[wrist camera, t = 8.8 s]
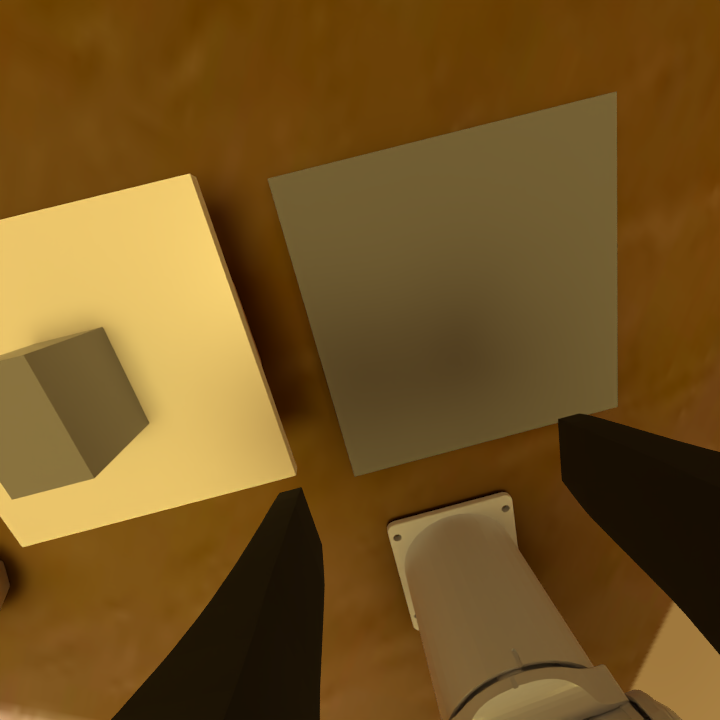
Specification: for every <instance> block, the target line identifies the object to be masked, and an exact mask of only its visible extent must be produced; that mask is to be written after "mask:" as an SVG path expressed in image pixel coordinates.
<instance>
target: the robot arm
mask: <svg viewBox="0 0 720 720" xmlns="http://www.w3.org/2000/svg"><path fill="white" fill-rule="evenodd" d="M558 427H559V442H560V458H561V473H562V481H563V482H564V484H565V485H566V486H567V488H568V489H569V490H570V492H571V493H572V494H573V496H574V497H575V498H576V500H577V501H578V502H579V503H580V505H581V506H582V507H583V508H584V510H585V511H586V512H587V513H588V514H589V515H590V516H591V518H592V519H593V520H594V521H595V522H596V523H597V524H598V525H599V526H600V527H601V528H602V529H603V530H604V531H605V532H606V533H607V534H608V535H609V536H610V537H611V538H612V539H613V540H614V541H615V542H616V543H617V544H618V545H619V546H620V547H621V548H622V549H623V550H624V551H625V552H626V553H627V554H628V555H629V556H630V557H631V558H632V559H633V560H634V561H635V562H636V563H637V564H638V565H639V566H640V567H641V568H642V569H643V570H644V571H645V572H646V573H647V574H648V575H649V577H650V578H651V579H652V580H653V581H654V582H655V583H656V584H657V585H658V586H659V587H660V588H661V589H662V590H663V591H664V592H665V593H666V594H667V595H668V596H669V597H670V598H671V599H672V600H673V601H674V602H675V603H676V604H677V606H678V607H679V608H680V609H681V610H682V611H683V612H684V613H685V614H686V615H687V617H688V618H689V619H690V620H691V621H692V622H693V624H694V625H695V626H696V627H697V628H698V629H699V631H700V632H701V633H702V634H703V635H704V637H705V638H706V639H707V640H708V641H709V642H710V644H711V645H712V646H713V647H714V648H715V649H716V651H717V652H718V653H719V654H720V452H717V451H713V450H709V449H706V448H702V447H698V446H695V445H691V444H687V443H684V442H680V441H677V440H673V439H670V438H666V437H663V436H659V435H656V434H652V433H649V432H646V431H642V430H639V429H635V428H632V427H629V426H625V425H622V424H619V423H615V422H612V421H608V420H605V419H601V418H597V417H594V416H590V415H585V414H581V413H579V414H575V415H571V416H567V417H564V418H560V419H558ZM505 505H506V506H505ZM503 506H505V507H503ZM502 507H503V508H502ZM387 531H388V535H389V539H390V543H391V546H392V550H393V554H394V557H395V561H396V565H397V568H398V572H399V576H400V579H401V583H402V587H403V590H404V594H405V598H406V601H407V605H408V609H409V612H410V616H411V620H412V623H413V627H414V629H416V630H419V631H420V635H421V639H422V643H423V647H424V651H425V655H426V659H427V663H428V667H429V671H430V675H431V679H432V683H433V687H434V691H435V695H436V699H437V703H438V707H439V712H440V716H441V720H682V719H681V718H680V717H679V716H678V715H677V714H676V713H674V712H673V711H672V710H671V709H669V708H668V707H666V706H665V705H663V704H661V703H659V702H657V701H656V700H654V699H653V698H652V697H650V696H649V695H648V694H646V693H644V692H642V691H641V690H632V691H629V692H626V693H624V692H623V691H622V689H621V688H620V686H619V685H618V683H617V682H616V680H615V679H614V677H613V676H612V674H611V673H610V672H609V670H608V669H607V667H606V666H605V665H603V664H602V665H599V666H595V667H594V666H593V664H592V663H591V661H590V660H589V658H588V657H587V655H586V654H585V652H584V650H583V649H582V647H581V646H580V644H579V643H578V641H577V640H576V638H575V636H574V635H573V633H572V632H571V630H570V629H569V627H568V626H567V624H566V623H565V621H564V619H563V618H562V616H561V615H560V613H559V612H558V610H557V609H556V607H555V605H554V604H553V602H552V601H551V599H550V598H549V596H548V595H547V593H546V591H545V590H544V588H543V587H542V585H541V584H540V582H539V581H538V579H537V577H536V576H535V574H534V573H533V571H532V570H531V568H530V567H529V565H528V563H527V562H526V560H525V559H524V557H523V556H522V554H521V553H520V551H519V549H518V543H517V535H516V527H515V519H514V510H513V502H512V498H511V496H510V495H509V494H508V493H506V492H501V493H497V494H493V495H489V496H486V497H482V498H478V499H474V500H471V501H467V502H463V503H460V504H456V505H452V506H448V507H445V508H441V509H437V510H434V511H430V512H426V513H422V514H419V515H415V516H411V517H408V518H404V519H400V520H396V521H393V522H391V523H389V524H388V526H387ZM395 535H399V536H395ZM324 585H325V584H324V566H323V553H322V544H321V541H320V538H319V535H318V532H317V530H316V527H315V524H314V521H313V518H312V516H311V513H310V510H309V507H308V504H307V502H306V499H305V496H304V493H303V490H302V487H300V488H297V489H293V490H289V491H285V492H282V493H279V495H278V496H277V498H276V500H275V501H274V503H273V504H272V506H271V508H270V509H269V511H268V513H267V514H266V516H265V518H264V519H263V521H262V523H261V524H260V526H259V528H258V529H257V531H256V533H255V534H254V536H253V538H252V539H251V541H250V542H249V544H248V546H247V547H246V549H245V550H244V552H243V554H242V555H241V557H240V558H239V560H238V561H237V563H236V565H235V566H234V568H233V569H232V570H231V572H230V573H229V575H228V576H227V578H226V579H225V581H224V582H223V584H222V585H221V587H220V588H219V589H218V591H217V592H216V594H215V595H214V597H213V598H212V600H211V601H210V602H209V604H208V605H207V606H206V608H205V609H204V610H203V612H202V613H201V614H200V616H199V617H198V618H197V620H196V621H195V622H194V624H193V625H192V626H191V627H190V629H189V630H188V631H187V632H186V634H185V635H184V636H183V637H182V639H181V640H180V641H179V642H178V644H177V645H176V646H175V647H174V649H173V650H172V651H171V652H170V653H169V655H168V656H167V657H166V658H165V659H164V661H163V662H162V663H161V664H160V665H159V666H158V667H157V669H156V670H155V671H154V672H153V673H152V674H151V675H150V676H149V678H148V679H147V680H146V681H145V682H144V683H143V684H142V686H141V687H140V688H139V689H138V690H137V691H136V692H135V694H134V695H133V696H132V697H131V698H130V699H129V700H128V701H127V703H126V704H125V705H124V706H123V707H122V708H121V709H120V711H119V712H118V713H117V714H116V715H115V716H114V717H113V718H112V719H111V720H320V677H321V655H322V633H323V611H324Z"/></svg>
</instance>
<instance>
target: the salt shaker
mask: <svg viewBox="0 0 720 720" xmlns="http://www.w3.org/2000/svg"><path fill="white" fill-rule="evenodd" d="M9 587H10V583H9V580H8V576H7V573H6V569H5V566H4V562H3V561H1V560H0V610H1V607H2V605H3V602H4V600H5V597H6V595H7V592H8V590H9Z"/></svg>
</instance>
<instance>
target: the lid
mask: <svg viewBox="0 0 720 720" xmlns="http://www.w3.org/2000/svg"><path fill="white" fill-rule="evenodd" d="M296 471H297V466H296V463H295V460H294V457H293V454H292V452H291V449H290V446H289V443H288V440H287V437H286V434H285V431H284V429H283V426H282V423H281V420H280V417H279V414H278V411H277V408H276V405H275V403H274V400H273V397H272V394H271V391H270V388H269V385H268V382H267V380H266V377H265V374H264V371H263V368H262V365H261V362H260V359H259V357H258V354H257V351H256V348H255V345H254V342H253V339H252V336H251V334H250V331H249V328H248V325H247V322H246V319H245V316H244V313H243V311H242V308H241V305H240V302H239V299H238V296H237V293H236V290H235V288H234V285H233V282H232V279H231V276H230V273H229V270H228V267H227V265H226V262H225V259H224V256H223V253H222V250H221V247H220V244H219V241H218V239H217V236H216V233H215V230H214V227H213V224H212V221H211V218H210V216H209V213H208V210H207V207H206V204H205V201H204V198H203V195H202V193H201V190H200V187H199V184H198V181H197V178H196V177H195V176H193V175H191V174H186V175H182V176H178V177H174V178H170V179H166V180H162V181H158V182H153V183H149V184H145V185H141V186H137V187H133V188H129V189H125V190H121V191H117V192H112V193H108V194H104V195H100V196H96V197H92V198H88V199H84V200H80V201H76V202H71V203H67V204H63V205H59V206H55V207H51V208H47V209H43V210H39V211H35V212H30V213H26V214H22V215H18V216H14V217H10V218H6V219H2V220H0V517H1V518H2V519H3V521H4V522H5V524H6V525H7V526H8V528H9V529H10V531H11V532H12V533H13V535H14V536H15V538H16V539H17V541H18V542H19V543H20V545H21V546H22V547H25V546H29V545H33V544H36V543H40V542H44V541H48V540H52V539H55V538H59V537H63V536H67V535H71V534H75V533H78V532H82V531H86V530H90V529H94V528H98V527H101V526H105V525H109V524H113V523H117V522H120V521H124V520H128V519H132V518H136V517H140V516H143V515H147V514H151V513H155V512H159V511H163V510H166V509H170V508H174V507H178V506H182V505H185V504H189V503H193V502H197V501H201V500H205V499H208V498H212V497H216V496H220V495H224V494H227V493H231V492H235V491H239V490H243V489H247V488H250V487H254V486H258V485H262V484H266V483H270V482H273V481H277V480H281V479H285V478H289V477H292V476H296Z"/></svg>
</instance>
